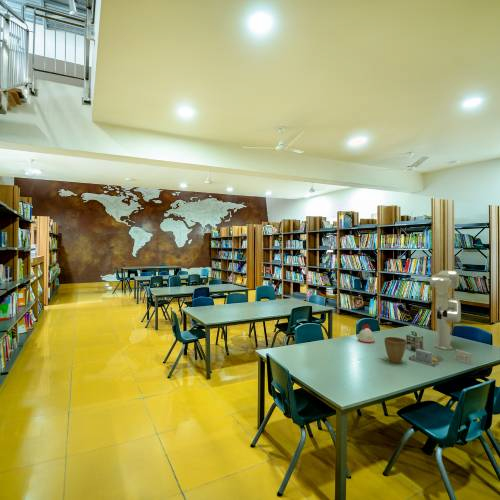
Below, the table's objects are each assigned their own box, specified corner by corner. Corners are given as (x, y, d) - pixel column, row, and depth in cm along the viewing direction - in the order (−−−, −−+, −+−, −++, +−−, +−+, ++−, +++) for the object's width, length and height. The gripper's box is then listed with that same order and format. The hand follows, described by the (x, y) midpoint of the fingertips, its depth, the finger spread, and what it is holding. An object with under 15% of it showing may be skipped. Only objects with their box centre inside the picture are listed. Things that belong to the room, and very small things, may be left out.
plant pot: (398, 366, 221) (398, 343, 221) (379, 360, 233) (379, 338, 233) (410, 362, 229) (410, 340, 228) (392, 356, 241) (392, 335, 241)
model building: (423, 350, 254) (423, 332, 254) (415, 351, 251) (415, 333, 251) (414, 347, 263) (414, 329, 263) (405, 348, 260) (405, 330, 260)
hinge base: (445, 360, 232) (445, 356, 232) (434, 366, 221) (434, 362, 221) (421, 353, 246) (421, 350, 246) (408, 359, 235) (408, 355, 235)
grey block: (417, 358, 235) (417, 349, 235) (431, 362, 227) (431, 352, 227) (415, 359, 233) (415, 349, 233) (429, 363, 225) (429, 353, 225)
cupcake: (354, 339, 285) (354, 323, 284) (367, 338, 289) (367, 322, 289) (364, 344, 271) (364, 326, 271) (378, 342, 275) (378, 325, 275)
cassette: (472, 364, 224) (473, 354, 224) (471, 365, 223) (471, 354, 223) (456, 359, 235) (456, 348, 235) (455, 359, 234) (455, 349, 234)
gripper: (441, 293, 245) (441, 315, 245) (431, 295, 234) (431, 318, 235) (452, 294, 239) (452, 317, 239) (442, 296, 228) (442, 320, 229)
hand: (442, 317), depth 237 cm, fingers open, 9 cm apart
